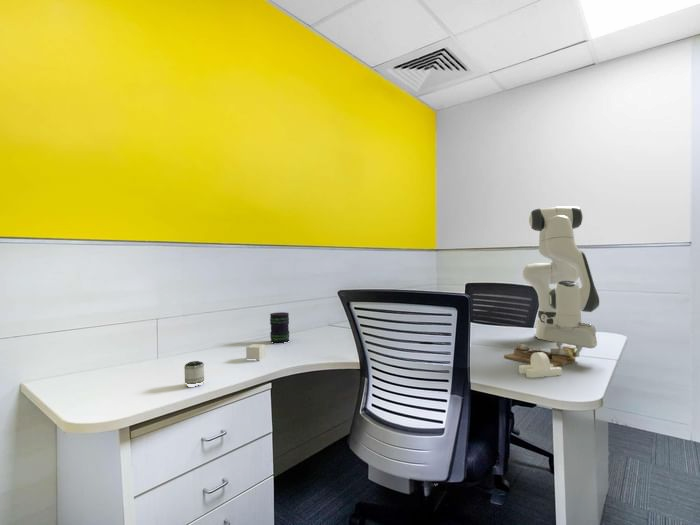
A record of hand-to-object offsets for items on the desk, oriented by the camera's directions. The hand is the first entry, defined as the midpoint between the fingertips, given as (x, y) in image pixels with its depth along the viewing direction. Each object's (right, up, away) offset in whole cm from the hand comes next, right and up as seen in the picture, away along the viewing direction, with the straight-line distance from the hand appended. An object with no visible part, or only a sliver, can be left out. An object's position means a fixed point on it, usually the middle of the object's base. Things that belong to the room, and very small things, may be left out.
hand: (569, 355), depth 155 cm
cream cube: (-130, -5, +11) cm, 131 cm away
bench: (-13, -2, +1) cm, 13 cm away
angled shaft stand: (-6, -2, -3) cm, 7 cm away
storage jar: (-126, -5, +47) cm, 135 cm away
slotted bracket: (-20, -3, -17) cm, 27 cm away
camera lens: (-143, -5, -23) cm, 145 cm away
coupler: (0, -2, 0) cm, 2 cm away
